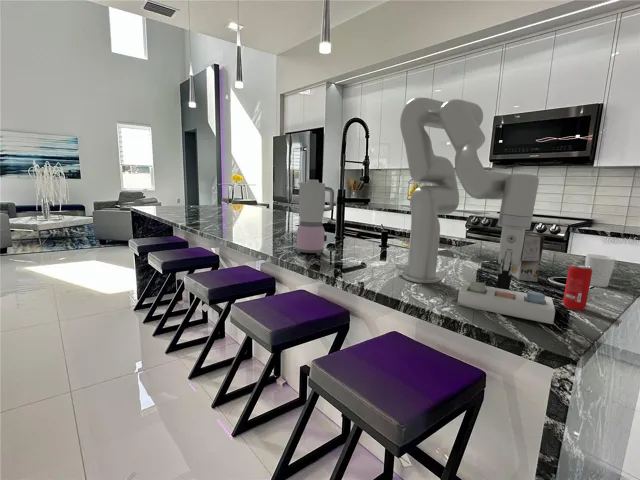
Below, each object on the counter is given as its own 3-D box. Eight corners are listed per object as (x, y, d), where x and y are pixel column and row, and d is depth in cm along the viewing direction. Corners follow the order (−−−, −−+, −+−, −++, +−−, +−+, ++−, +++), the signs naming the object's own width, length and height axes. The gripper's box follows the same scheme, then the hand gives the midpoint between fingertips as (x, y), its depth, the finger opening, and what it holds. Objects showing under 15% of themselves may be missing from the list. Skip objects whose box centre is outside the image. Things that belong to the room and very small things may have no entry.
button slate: (525, 304, 89) (527, 294, 89) (525, 299, 93) (527, 290, 92) (544, 307, 88) (545, 297, 87) (543, 302, 91) (544, 293, 90)
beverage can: (557, 304, 98) (564, 263, 96) (574, 304, 99) (581, 263, 97) (572, 311, 93) (580, 268, 91) (590, 311, 94) (598, 268, 92)
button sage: (468, 293, 96) (469, 284, 96) (469, 289, 100) (471, 281, 99) (483, 296, 94) (485, 287, 94) (485, 292, 98) (486, 283, 97)
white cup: (603, 282, 124) (609, 255, 122) (614, 289, 116) (619, 260, 114) (577, 280, 126) (582, 253, 124) (586, 285, 119) (591, 257, 117)
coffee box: (538, 282, 121) (545, 236, 118) (518, 280, 122) (525, 235, 119) (528, 275, 130) (534, 233, 127) (509, 273, 131) (515, 231, 128)
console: (457, 304, 94) (458, 292, 94) (463, 293, 105) (464, 282, 104) (553, 324, 84) (555, 311, 83) (549, 309, 94) (551, 297, 93)
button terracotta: (495, 303, 93) (496, 294, 93) (496, 299, 97) (497, 290, 96) (512, 307, 91) (513, 297, 91) (512, 302, 95) (513, 293, 94)
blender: (294, 255, 147) (296, 179, 141) (296, 249, 159) (299, 179, 153) (331, 256, 146) (335, 180, 141) (330, 250, 158) (334, 180, 153)
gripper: (531, 226, 82) (517, 299, 86) (530, 220, 95) (518, 283, 98) (496, 222, 86) (485, 292, 89) (500, 217, 98) (489, 278, 102)
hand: (502, 287), depth 94 cm, fingers closed
